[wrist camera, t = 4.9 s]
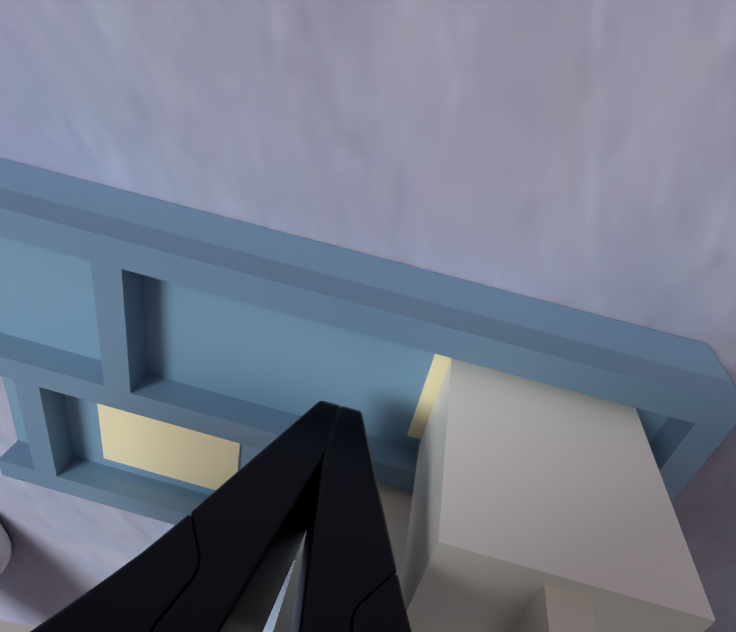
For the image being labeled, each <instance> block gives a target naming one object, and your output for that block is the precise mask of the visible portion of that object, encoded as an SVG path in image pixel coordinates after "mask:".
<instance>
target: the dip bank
mask: <svg viewBox="0 0 736 632" xmlns="http://www.w3.org/2000/svg"><path fill="white" fill-rule="evenodd" d="M451 358H453V359H457V360H461V361H464V362H468V363H472V364H475V365H479V366H483V367H486V368H490V369H494V370H498V371H501V372H505V373H509V374H512V375H516V376H520V377H524V378H527V379H531V380H535V381H538V382H542V383H546V384H549V385H553V386H557V387H561V388H564V389H568V390H572V391H575V392H579V393H583V394H587V395H590V396H594V397H598V398H601V399H605V400H609V401H612V402H616V403H620V404H624V405H627V406H631V407H635V408H636V411H637V413H638V416H639V419H640V421H641V424H642V427H643V429H644V432H645V434H646V437H647V440H648V442H649V445H650V448H651V450H652V453H653V456H654V458H655V461H656V464H657V466H658V469H659V472H660V474H661V477H662V480H663V482H664V485H665V488H666V490H667V493H668V496H669V498H670V501H671V503H672V502H673V501H674V500H675V498H676V497H677V496H678V495H679V494H680V492H681V491H682V490H683V489H684V488H685V486H686V485H687V484H688V483H689V482H690V480H691V479H692V478H693V477H694V475H695V474H696V473H697V472H698V471H699V469H700V468H701V467H702V466H703V465H704V463H705V462H706V461H707V460H708V459H709V457H710V456H711V455H712V454H713V452H714V451H715V450H716V449H717V448H718V446H719V445H720V444H721V443H722V442H723V440H724V439H725V438H726V437H727V436H728V434H729V433H730V432H731V431H732V429H733V428H734V427H735V426H736V386H735V385H734V383H733V382H732V380H731V378H730V377H729V375H728V374H727V372H726V371H725V369H724V368H723V366H722V365H721V363H720V362H719V360H718V358H717V357H716V355H715V354H714V352H713V351H712V349H711V348H710V346H709V345H708V344H705V343H701V342H697V341H694V340H690V339H686V338H682V337H678V336H675V335H671V334H667V333H663V332H659V331H656V330H652V329H648V328H644V327H640V326H637V325H633V324H629V323H625V322H621V321H618V320H614V319H610V318H606V317H602V316H599V315H595V314H591V313H587V312H583V311H580V310H576V309H572V308H568V307H564V306H561V305H557V304H553V303H549V302H545V301H542V300H538V299H534V298H530V297H526V296H523V295H519V294H515V293H511V292H507V291H504V290H500V289H496V288H492V287H488V286H485V285H481V284H477V283H473V282H469V281H466V280H462V279H458V278H454V277H450V276H447V275H443V274H439V273H435V272H431V271H428V270H424V269H420V268H416V267H412V266H409V265H405V264H401V263H397V262H393V261H390V260H386V259H382V258H378V257H374V256H371V255H367V254H363V253H359V252H355V251H352V250H348V249H344V248H340V247H336V246H333V245H329V244H325V243H321V242H317V241H314V240H310V239H306V238H302V237H298V236H295V235H291V234H287V233H283V232H279V231H276V230H272V229H268V228H264V227H260V226H257V225H253V224H249V223H245V222H241V221H238V220H234V219H230V218H226V217H222V216H219V215H215V214H211V213H207V212H203V211H200V210H196V209H192V208H188V207H184V206H181V205H177V204H173V203H169V202H165V201H162V200H158V199H154V198H150V197H146V196H143V195H139V194H135V193H131V192H127V191H123V190H120V189H116V188H112V187H108V186H104V185H101V184H97V183H93V182H89V181H85V180H82V179H78V178H74V177H70V176H66V175H63V174H59V173H55V172H51V171H47V170H44V169H40V168H36V167H32V166H28V165H25V164H21V163H17V162H13V161H9V160H6V159H2V158H0V376H2V377H3V381H4V385H5V389H6V393H7V397H8V401H9V405H10V409H11V413H12V417H13V421H14V425H15V429H16V433H17V437H18V441H17V442H16V443H15V444H14V445H13V446H12V447H11V448H10V449H9V450H8V451H7V452H6V453H5V454H4V455H2V456H1V457H0V468H1V471H2V475H5V476H8V477H12V478H15V479H19V480H22V481H25V482H29V483H32V484H36V485H39V486H43V487H46V488H50V489H53V490H57V491H60V492H63V493H67V494H70V495H74V496H77V497H81V498H84V499H88V500H91V501H94V502H98V503H101V504H105V505H108V506H112V507H115V508H119V509H122V510H125V511H129V512H132V513H136V514H139V515H143V516H146V517H150V518H153V519H156V520H160V521H163V522H167V523H170V524H174V525H176V524H177V523H178V522H180V521H181V520H182V519H183V518H184V517H185V516H186V515H190V516H191V512H192V511H193V510H194V509H195V508H196V507H197V506H198V505H199V504H201V503H202V502H203V501H204V500H205V499H206V498H208V497H209V496H210V495H211V494H212V493H213V492H214V491H216V490H217V489H218V488H219V487H220V486H221V485H223V484H224V483H225V482H226V481H227V480H228V479H229V478H231V477H232V476H233V475H234V474H235V473H236V472H238V471H239V470H240V469H241V468H242V467H243V466H245V465H246V464H247V463H248V462H249V461H250V460H251V459H253V458H254V457H255V456H256V455H257V454H258V453H260V452H261V451H262V450H263V449H264V448H265V447H266V446H268V445H269V444H270V443H271V442H272V441H273V440H275V439H276V438H277V437H278V436H279V435H280V434H281V433H283V432H284V431H285V430H286V429H287V428H288V427H290V426H291V425H292V424H293V423H294V422H295V421H296V420H298V419H299V418H300V417H301V416H302V415H303V414H305V413H306V412H307V411H308V410H309V409H310V408H311V407H313V406H314V405H315V404H316V403H317V402H319V401H321V400H323V401H327V402H331V403H334V404H338V405H340V406H345V407H349V408H353V409H356V410H359V411H361V413H362V415H363V419H364V424H365V428H366V433H367V437H368V442H369V446H370V451H371V456H372V460H373V465H374V469H375V474H376V478H377V482H378V483H382V484H385V485H389V486H392V487H396V488H399V489H403V490H406V491H410V492H413V489H414V481H415V473H416V465H417V458H418V450H419V444H420V442H421V439H422V436H423V433H424V431H425V428H426V425H427V422H428V420H429V417H430V414H431V412H432V409H433V406H434V403H435V401H436V398H437V395H438V392H439V390H440V387H441V384H442V381H443V379H444V376H445V373H446V370H447V368H448V365H449V362H450V359H451ZM302 540H303V539H302ZM301 543H302V542H301ZM300 546H301V544H300ZM300 546H299V549H298V551H297V553H296V556H295V558H294V560H296V559H297V556H298V553H299V550H300Z"/></svg>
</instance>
